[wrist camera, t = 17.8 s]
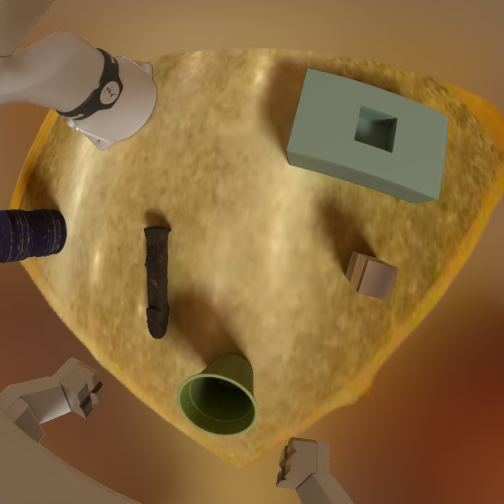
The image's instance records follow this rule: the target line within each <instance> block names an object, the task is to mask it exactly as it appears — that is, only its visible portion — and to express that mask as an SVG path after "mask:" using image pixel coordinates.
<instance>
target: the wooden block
mask: <svg viewBox="0 0 504 504" xmlns="http://www.w3.org/2000/svg"><path fill="white" fill-rule="evenodd" d="M397 272H398V268H396V267H394V266H392V265H390V264H388V263H386V262H384V261H382V260H380V259H378V258H375V257H372V256H369V255H365V254H362V253H359V252H355V251H353V252H352V255H351V259H350V262H349V265H348V269H347V272H346V275H345V277H346V278H347V279H348V281H349V282H350V283H351V284H352V286H353V287H354V288H355V289H356V291H357V292H358V293H361V294H364V295H368V296H372V297H375V298H379V299H382V300H386V301H388V299H389V296H390V293H391V290H392V287H393V284H394V281H395V278H396V275H397Z"/></svg>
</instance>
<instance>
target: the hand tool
mask: <svg viewBox="0 0 504 504" xmlns="http://www.w3.org/2000/svg"><path fill="white" fill-rule="evenodd" d="M170 231H171V229H170V228H166V227H158V226H154V227H148V228H144V232H145V236H146V239H147V257H146V263H145V266H146V268H147V285H148V306H149V307H148V308H147V309H146V315H147V323H148V329H149V332H150V334H151V335H152V337H153V338H156V339H160V338H162V337H163V336H164V335H165V333H166V330H167V324H168V316H169V306H168V305H167V283H168V280H167V264H168V254H167V252H168V251H167V240H168V234H169V232H170Z"/></svg>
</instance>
